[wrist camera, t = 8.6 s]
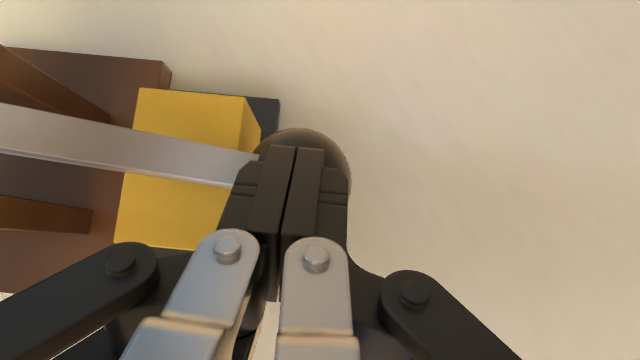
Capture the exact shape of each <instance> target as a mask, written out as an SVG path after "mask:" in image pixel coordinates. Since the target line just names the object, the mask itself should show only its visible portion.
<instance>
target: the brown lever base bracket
mask: <svg viewBox="0 0 640 360" xmlns="http://www.w3.org/2000/svg"><path fill="white" fill-rule="evenodd" d="M171 73H172V72H171V71H170V70H169V68H168V67H167V66H166V65H165V64H164V62H163V61H156V60H145V59H134V58H123V57H112V56H101V55H91V54H80V53H69V52H58V51H47V50H36V49H25V48H14V47H4V46H2V45H1V44H0V102H2V103H6V104H11V105H16V106H21V107H26V108H31V109H36V110H41V111H46V112H51V113H56V114H61V115H66V116H71V117H76V118H80V119H85V120H90V121H95V122H100V123H105V124H110V125H115V126H120V127H125V128H130V129H132V128H133V122H134V117H135V111H136V105H137V99H138V93H139V88H151V89H162V90H169V86H170V80H171ZM124 175H125V172H119V171H112V170H106V169H100V168H93V167H87V166H80V165H74V164H68V163H61V162H55V161H49V160H42V159H36V158H30V157H23V156H17V155H11V154H4V153H0V292H5V293H15V294H16V293H18V292H20V291H22V290H24V289H26V288H28V287H30V286H32V285H34V284H36V283H38V282H40V281H42V280H44V279H46V278H47V277H49V276H51V275H53V274H55V273H57V272H59V271H61V270H63V269H65V268H67V267H69V266H71V265H73V264H75V263H77V262H79V261H81V260H83V259H85V258H86V257H88V256H90V255H92V254H94V253H96V252H98V251H100V250H102V249H104V248H106V247H108V246H111V245H114V244H117V243H114V242H113V240H114V234H115V228H116V222H117V216H118V210H119V205H120V199H121V193H122V187H123V181H124Z"/></svg>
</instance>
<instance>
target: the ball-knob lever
mask: <svg viewBox="0 0 640 360" xmlns="http://www.w3.org/2000/svg"><path fill="white" fill-rule="evenodd" d="M271 144H272V145H282V146H293V147H297V153H298V148H299V147H304V148H315V149H324V160H323V167H328V168H339V169H342V171H343V173H344V174H345V176H346V177H347V179H348V199H349V196H350V192H351V172H350V168H349V164H348V162H347V159H346V157H345V155H344V154H343V152H342V151H341V149H340V148H339V147H338V146H337V145H336V143H334V142H333V141H332V140H331V139H330V138H328V137H327V136H325V135H324V134H321V133H319V132H317V131H314V130H311V129H306V128H290V129H285V130H281V131H278V132H276V133H274V134H272V135H270V136H269V137H267V138H265V139H264V140H263V141H262V142H261V143H260V144H259V145H258V146H257V147H256V148H255V149H254V151H253V152H252V153H248V152H243V151H238V150H233V149H228V148H223V147H219V146H214V145H209V144H204V143H199V142H194V141H189V140H184V139H179V138H174V137H169V136H164V135H159V134H154V133H149V132H145V131H140V130H135V129H130V128H125V127H120V126H115V125H110V124H105V123H100V122H95V121H90V120H85V119H80V118H76V117H71V116H66V115H61V114H56V113H51V112H46V111H41V110H36V109H31V108H26V107H21V106H16V105H11V104H6V103H2V102H0V153H4V154H11V155H17V156H23V157H30V158H36V159H42V160H49V161H55V162H61V163H68V164H74V165H80V166H87V167H93V168H100V169H106V170H112V171H119V172H125V173H131V174H138V175H144V176H150V177H157V178H163V179H169V180H176V181H182V182H188V183H195V184H201V185H207V186H214V187H220V188H227V189H232V187H233V185H234V182H235V179H236V176H237V174H238V171H239V170H240V169H241V168H242V167H243V166H244V165H245V164H247V163H248V162H249V161H250V160H254V161H264V162H265V161H266V158H267V154H268V151H269V148H270V145H271Z"/></svg>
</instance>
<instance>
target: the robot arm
mask: <svg viewBox="0 0 640 360" xmlns="http://www.w3.org/2000/svg"><path fill="white" fill-rule="evenodd" d="M323 160H324V149H315V148H304V147H299V148H298V153H297V147H293V146H282V145H272V144H271V145H270V148H269V151H268V154H267V158H266V161H265V162H264V161H254V160H250V161H249V162H248V163H247V164H245V165H244V166H243V167H242V168H241V169H240V170H239V171H238V174H237V176H236V179H235V182H234V185H233V187H232V189H231V192H230V195H229V197H228V200H227V202H226V205H225V207H224V210H223V213H222V215H221V218H220V220H219V223H218V226H217V228H216V231H214V232H212V233H210V234H208V235H207V236H205V237H204V238H203V239H202V240H201V241H200V242H199V243H198V245H197V247H196V249H195V250H194V251H191V252H188V253H184V254H179V255H172V256H165V257H159V258H157V257H156V254H155V252H154V250H153V249H152V248H151V247H149V246H148V245H146V244H143V243H140V242H121V243H117V244H114V245H111V246H108V247H106V248H104V249H102V250H100V251H98V252H96V253H94V254H92V255H90V256H88V257H86V258H85V259H83V260H81V261H79V262H77V263H75V264H73V265H71V266H69V267H67V268H65V269H63V270H61V271H59V272H57V273H55V274H53V275H51V276H49V277H47V278H46V279H44V280H42V281H40V282H38V283H36V284H34V285H32V286H30V287H28V288H26V289H24V290H22V291H20V292H18V293H16V294H14V295H12V296H10V297H9V298H7V299H5V300H3V301H1V302H0V360H50V359H51V358H53V357H54V356H56V355H58V354H59V353H61V352H62V351H64V350H66V349H67V348H69V347H70V346H72V345H74V344H75V343H77V342H78V341H80V340H82V339H83V338H85V337H86V336H88V335H90V334H91V333H93V332H94V331H96V330H98V329H99V328H101V327H102V326H104V327H103V328H101V329H100V330H98V331H97V332H95V333H93V334H92V335H90V336H89V337H87V338H85V339H84V340H82V341H81V342H79V343H77V344H76V345H74V346H73V347H71V348H69V349H68V350H66V351H65V352H63V353H61V354H60V355H58V356H57V357H55V358H53V359H52V360H252V357H253V354H254V351H255V347H256V344H257V341H258V337H259V334H260V330H261V321H262V318H263V314H264V310H265V305H266V301H270V302H276V301H277V296H278V290H279V285H280V290H279V302H281V305H280V317H279V329H278V333H277V338H276V348H275V359H274V360H522V359H521V358H520V357H519V356H517V355H516V354H515V353H514V352H513V351H512V350H511V349H510V348H509V347H508V346H507V345H505V344H504V343H503V342H502V341H501V340H500V339H499V338H498V337H497V336H496V335H495V334H494V333H492V332H491V331H490V330H489V329H488V328H487V327H486V326H485V325H484V324H483V323H482V322H480V321H479V320H478V319H477V318H476V317H475V316H474V315H473V314H472V313H471V312H470V311H469V310H467V309H466V308H465V307H464V306H463V305H462V304H461V303H460V302H459V301H458V300H457V299H455V298H454V297H453V296H452V295H451V294H450V293H449V292H448V291H447V290H446V289H445V288H444V287H442V286H441V285H440V284H439V283H438V282H437V281H436V280H434V279H433V278H431V277H430V276H428V275H426V274H424V273H421V272H418V271H413V270H401V271H397V272H394V273H392V274H390V275H389V276H387V277H386V278H382V277H380V276H377V275H374V274H372V273H369V272H367V271H365V270H364V269H362V268H360V267H359V266H358V265H356V264H355V263H354V261H353V260H352V259H351V258H350V256H349V254H348V252H347V247H346V238H347V207H348V206H347V205H348V179H347V177H346V176H345V174H344V173H343V171H342V169H339V168H328V167H323Z"/></svg>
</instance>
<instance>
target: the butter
mask: <svg viewBox="0 0 640 360" xmlns="http://www.w3.org/2000/svg"><path fill="white" fill-rule="evenodd" d="M279 112H280V102H279V100H278V99H268V98H257V97H246V96H235V95H225V94H214V93H203V92H192V91H181V90H162V89H151V88H139V93H138V99H137V105H136V111H135V117H134V122H133V128H132V129H135V130H140V131H145V132H149V133H154V134H159V135H164V136H169V137H174V138H179V139H184V140H189V141H194V142H199V143H204V144H209V145H214V146H219V147H223V148H228V149H233V150H238V151H243V152H248V153H252V152H253V151H254V149H255V148H256V147H257V146H258V145H259V144H260V143H261V142H262V141H263V140H264V139H265V138H267V137H269V136H270V135H272V134H274V133H276V132H277V129H278V120H279ZM230 192H231V189H227V188H220V187H214V186H207V185H201V184H195V183H188V182H182V181H176V180H169V179H163V178H157V177H150V176H144V175H138V174H131V173H125V175H124V181H123V187H122V193H121V199H120V205H119V210H118V216H117V222H116V228H115V234H114V240H113V242H114V243H121V242H140V243H143V244H146V245H148V246H149V247H151V248H152V249H153V250H154V252H155V254H156V257H157V258H159V257H165V256H172V255H179V254H184V253H188V252H191V251H194V250H195V249H196V247H197V245H198V243H199V242H200V241H201V240H202V239H203V238H204V237H205V236H207V235H208V234H210V233H212V232H214V231H216V228H217V226H218V223H219V220H220V218H221V215H222V213H223V210H224V207H225V205H226V202H227V200H228V197H229V195H230Z"/></svg>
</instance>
